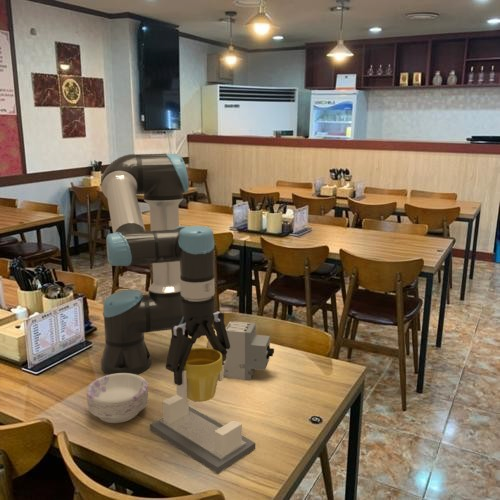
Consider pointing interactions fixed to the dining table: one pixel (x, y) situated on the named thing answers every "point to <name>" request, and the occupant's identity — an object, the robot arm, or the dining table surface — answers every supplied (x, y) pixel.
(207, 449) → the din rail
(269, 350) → the circuit breaker
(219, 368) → the plant pot
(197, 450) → the mounting plate
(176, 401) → the mounted modules
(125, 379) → the paper bowls
